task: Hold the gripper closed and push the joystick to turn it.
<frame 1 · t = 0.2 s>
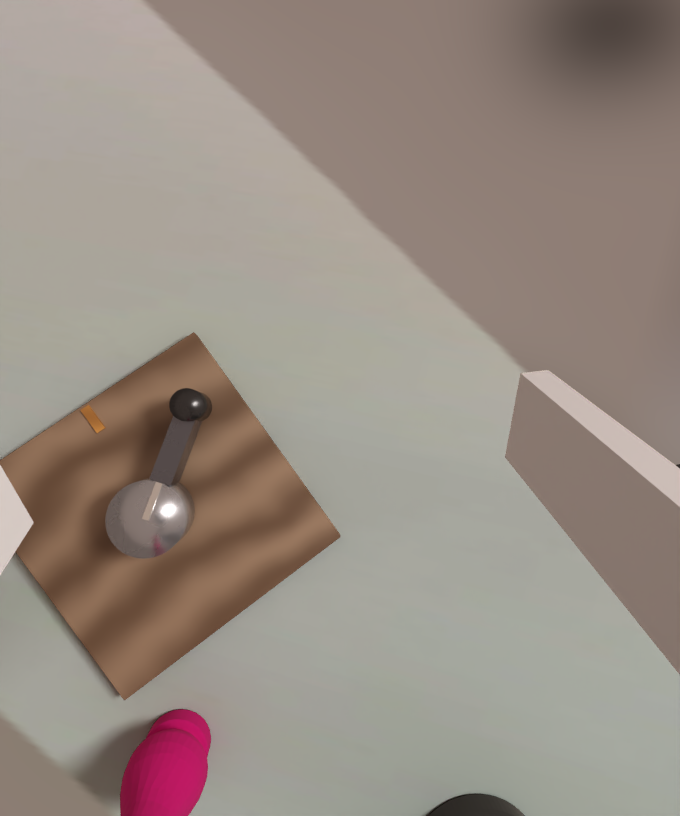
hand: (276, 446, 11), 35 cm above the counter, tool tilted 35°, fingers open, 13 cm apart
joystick: (167, 470, 40), point 4 cm above the counter, hinge at -55.0°
dial base: (164, 508, 44), on the counter
pepper mill: (180, 738, 43), on the counter
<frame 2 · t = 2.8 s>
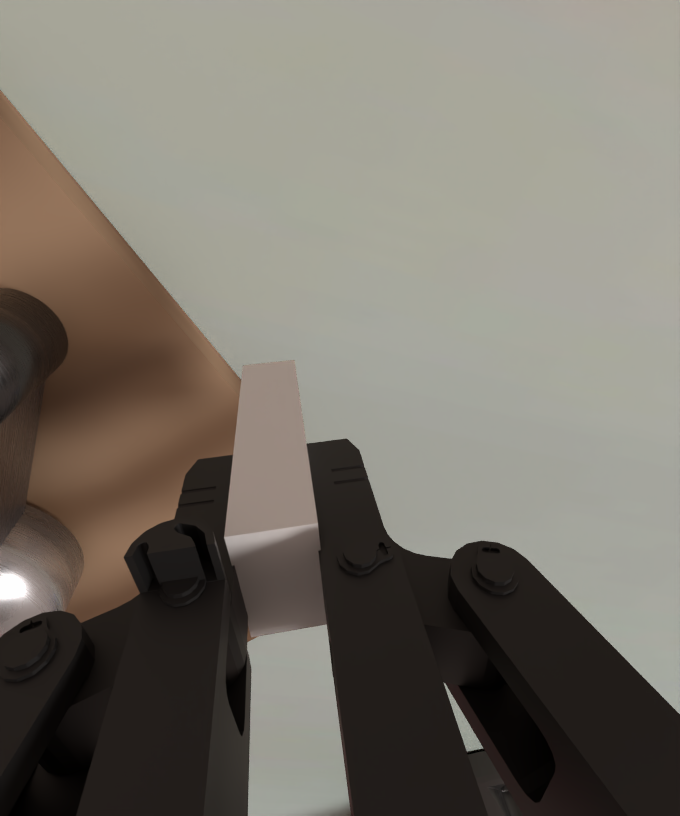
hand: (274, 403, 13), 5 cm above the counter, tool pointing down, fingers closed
dial base: (17, 523, 20), on the counter
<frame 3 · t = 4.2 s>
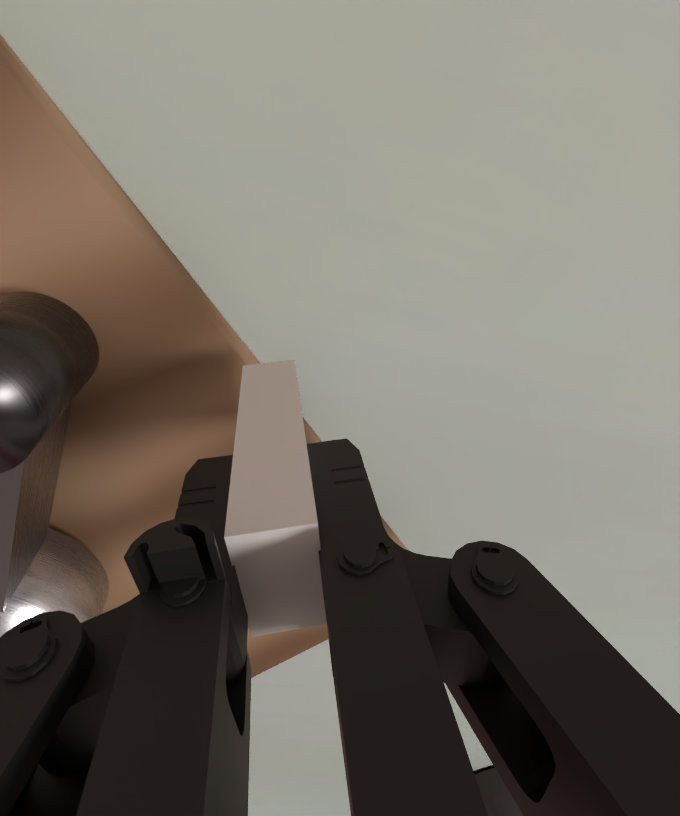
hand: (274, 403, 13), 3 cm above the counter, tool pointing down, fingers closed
dial base: (36, 544, 19), on the counter
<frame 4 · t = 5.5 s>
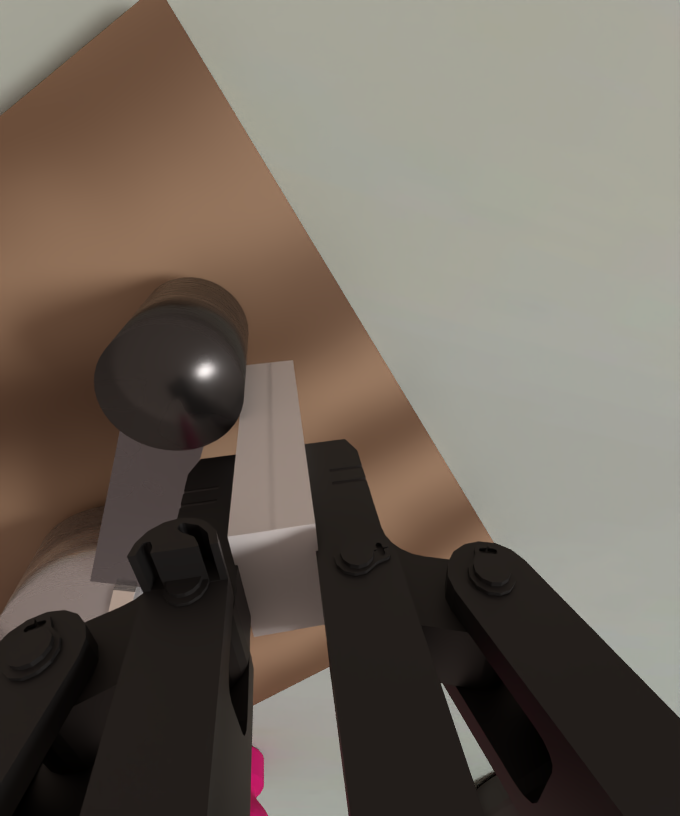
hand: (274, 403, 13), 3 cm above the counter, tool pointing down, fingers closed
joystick: (141, 531, 14), point 4 cm above the counter, hinge at -53.2°, touching gripper
dial base: (146, 532, 19), on the counter
pepper mill: (220, 760, 31), on the counter
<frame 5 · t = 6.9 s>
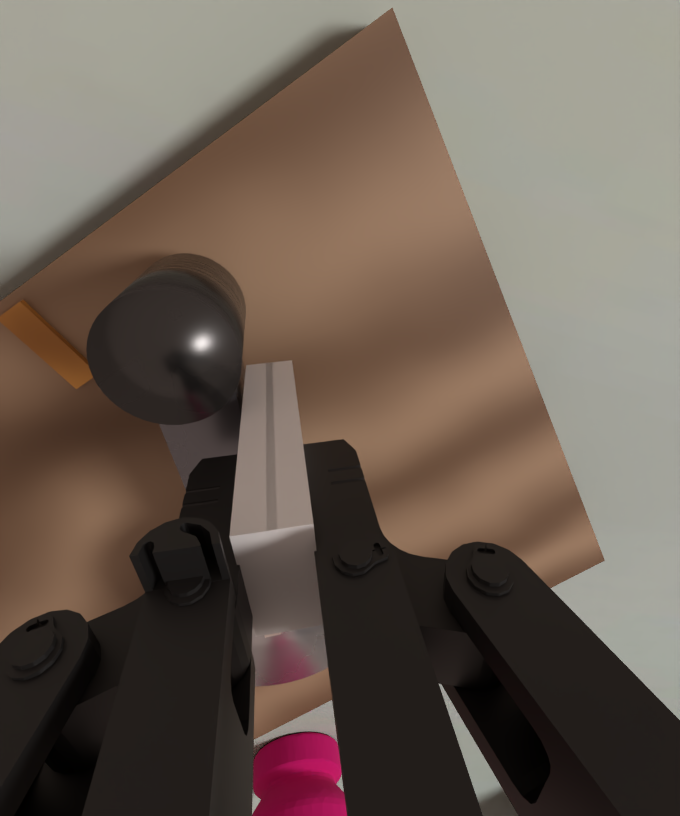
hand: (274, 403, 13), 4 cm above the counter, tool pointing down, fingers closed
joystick: (244, 514, 14), point 4 cm above the counter, hinge at -24.0°, touching gripper
dial base: (269, 520, 20), on the counter
pepper mill: (296, 750, 32), on the counter
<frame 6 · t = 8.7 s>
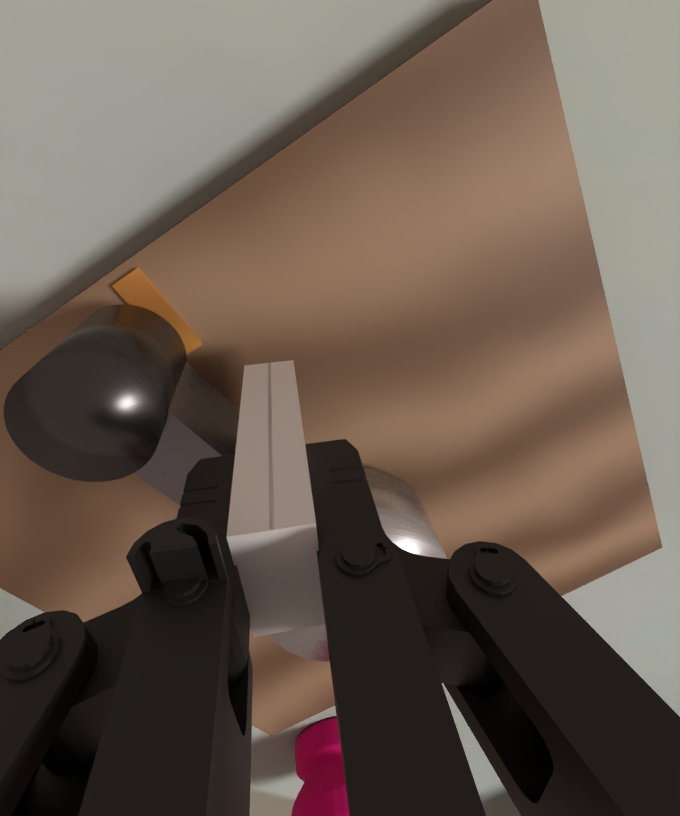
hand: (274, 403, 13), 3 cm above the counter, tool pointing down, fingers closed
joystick: (279, 513, 14), point 4 cm above the counter, hinge at 5.5°, touching gripper
dial base: (338, 500, 20), on the counter
pepper mill: (336, 733, 32), on the counter
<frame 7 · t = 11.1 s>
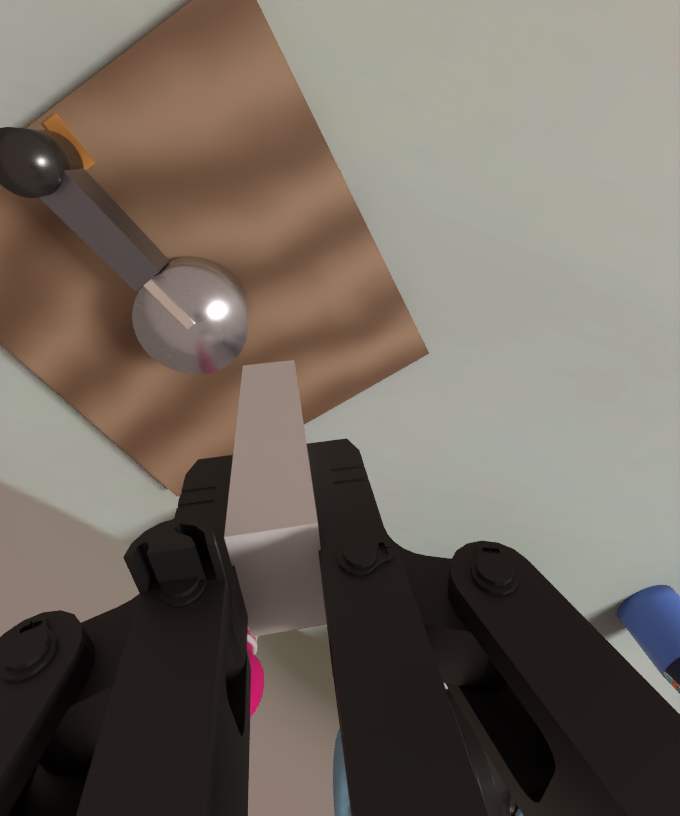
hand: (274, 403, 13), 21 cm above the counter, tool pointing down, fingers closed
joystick: (139, 263, 26), point 4 cm above the counter, hinge at 5.7°
dial base: (201, 299, 32), on the counter
water bottle: (644, 602, 66), on the counter
pepper mill: (234, 520, 44), on the counter
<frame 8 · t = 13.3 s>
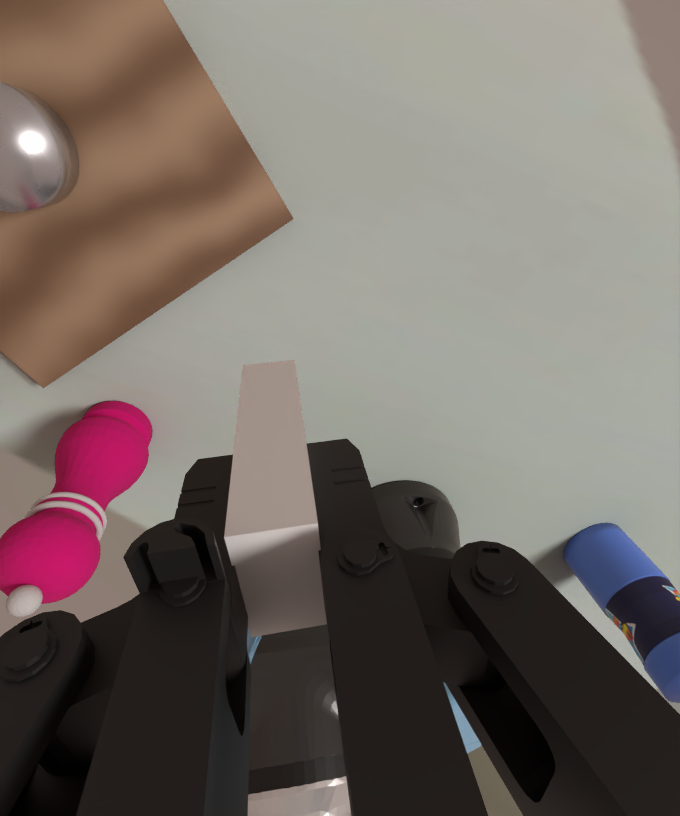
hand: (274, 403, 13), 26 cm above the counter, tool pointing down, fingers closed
dial base: (34, 149, 30), on the counter
water bottle: (591, 544, 63), on the counter
pepper mill: (119, 426, 42), on the counter
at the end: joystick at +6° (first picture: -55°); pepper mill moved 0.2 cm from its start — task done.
